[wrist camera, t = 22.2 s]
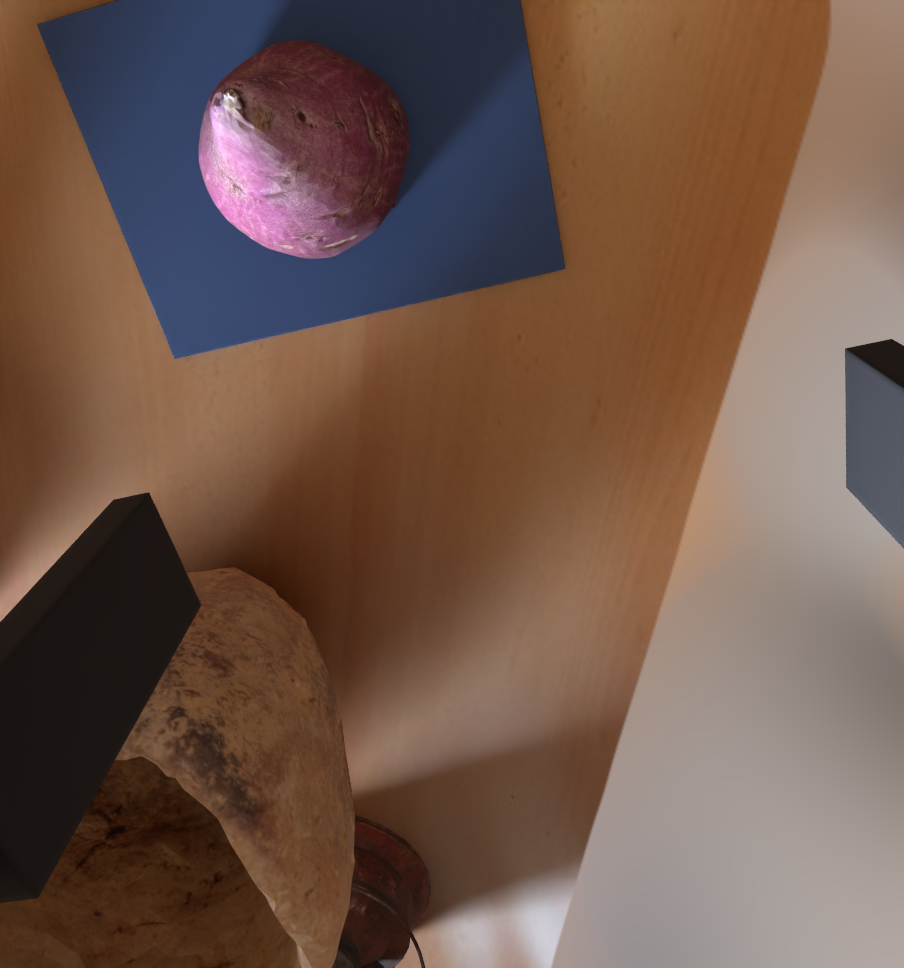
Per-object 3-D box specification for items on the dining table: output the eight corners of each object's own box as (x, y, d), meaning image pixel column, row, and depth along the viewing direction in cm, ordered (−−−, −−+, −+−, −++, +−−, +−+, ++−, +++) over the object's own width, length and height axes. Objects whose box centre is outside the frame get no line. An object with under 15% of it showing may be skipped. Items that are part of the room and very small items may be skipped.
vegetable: (236, 60, 42) (54, -80, 27) (421, 61, 40) (332, -87, 26) (238, 259, 44) (71, 228, 29) (413, 267, 42) (327, 237, 28)
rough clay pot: (385, 474, 50) (305, 779, 27) (401, 729, 60) (352, 1104, 37) (49, 474, 51) (-293, 769, 28) (121, 725, 61) (-90, 1088, 38)
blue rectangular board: (500, -115, 36) (500, -117, 35) (564, 267, 43) (565, 268, 43) (40, 25, 39) (36, 24, 38) (176, 357, 47) (174, 359, 46)
